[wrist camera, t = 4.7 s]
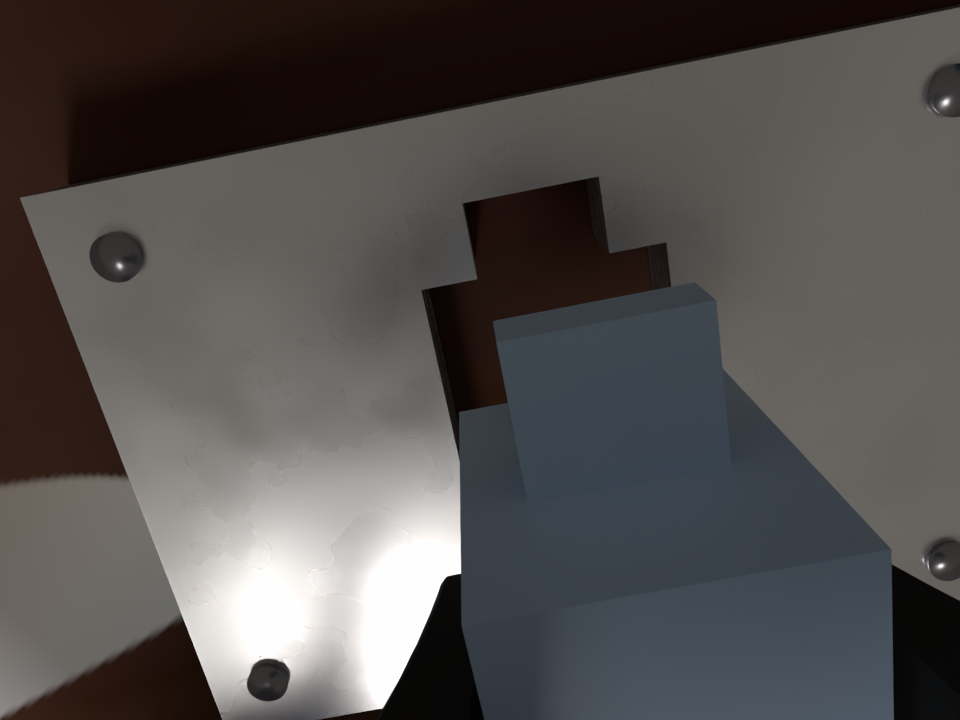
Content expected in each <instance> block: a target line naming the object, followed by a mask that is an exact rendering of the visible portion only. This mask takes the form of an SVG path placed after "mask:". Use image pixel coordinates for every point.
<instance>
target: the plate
mask: <svg viewBox="0 0 960 720" xmlns="http://www.w3.org/2000/svg"><path fill="white" fill-rule="evenodd" d="M583 179H585V181H586V188H587V195H588V202H589V209H590V216H591V223H592V230H593V236H594V237H595V238H596V239H597V240H598V241H599V242H600V244H601V245H602V246H603V247H604V248H605V249H606V250H607V251H608V252H609V253H614V252H619V251H624V250H629V249H634V248H640V247H645V246H647V251H648V260H649V268H650V276H651V284H652V290H657V289H662V288H668V287H673V286H678V285H683V284H688V283H693V282H695V283H696V284H698V285H699V286H700V287H701V288H702V289H703V290H705V291H706V292H707V293H708V294H709V295H711V296H712V297H713V298H714V299H715V300H716V302H717V313H718V324H719V334H720V345H721V356H722V367H723V369H724V370H725V371H726V372H727V373H728V374H729V376H730V377H731V378H732V379H733V380H734V381H735V382H736V383H737V384H738V385H739V386H740V387H741V388H742V390H743V391H744V392H745V393H746V394H747V395H748V396H749V397H750V398H751V399H752V400H753V401H754V402H755V403H756V405H757V406H758V407H759V408H760V409H761V410H762V411H763V412H764V413H765V414H766V415H767V416H768V417H769V418H770V420H771V421H772V422H773V423H774V424H775V425H776V426H777V427H778V428H779V429H780V430H781V431H782V432H783V434H784V435H785V436H786V437H787V438H788V439H789V440H790V441H791V442H792V443H793V444H794V445H795V446H796V447H797V449H798V450H799V451H800V452H801V453H802V454H803V455H804V456H805V457H806V458H807V459H808V460H809V461H810V463H811V464H812V465H813V466H814V467H815V468H816V469H817V470H818V471H819V472H820V473H821V474H822V475H823V476H824V478H825V479H826V480H827V481H828V482H829V483H830V484H831V485H832V486H833V487H834V488H835V489H836V490H837V492H838V493H839V494H840V495H841V496H842V497H843V498H844V499H845V500H846V501H847V502H848V503H849V504H850V505H851V507H852V508H853V509H854V510H855V511H856V512H857V513H858V514H859V515H860V516H861V517H862V518H863V519H864V520H865V522H866V523H867V524H868V525H869V526H870V527H871V528H872V529H873V530H874V531H875V532H876V533H877V534H878V536H879V537H880V538H881V539H882V540H883V541H884V542H885V543H886V544H887V545H888V546H889V547H890V548H891V559H892V564H893V565H894V566H896V567H898V568H900V569H901V570H903V571H905V572H907V573H909V574H910V575H912V576H914V577H916V578H918V579H920V580H921V581H923V582H925V583H927V584H929V585H931V586H933V587H934V588H936V589H938V590H940V591H942V592H944V593H946V594H948V595H950V596H952V597H954V598H955V599H957V600H959V601H960V4H959V5H954V6H949V7H944V8H939V9H934V10H929V11H924V12H919V13H914V14H909V15H904V16H900V17H895V18H890V19H885V20H880V21H875V22H870V23H865V24H860V25H855V26H850V27H845V28H840V29H835V30H830V31H826V32H821V33H816V34H811V35H806V36H801V37H796V38H791V39H786V40H781V41H776V42H771V43H766V44H761V45H757V46H752V47H747V48H742V49H737V50H732V51H727V52H722V53H717V54H712V55H707V56H702V57H697V58H692V59H688V60H683V61H678V62H673V63H668V64H663V65H658V66H653V67H648V68H643V69H638V70H633V71H628V72H623V73H619V74H614V75H609V76H604V77H599V78H594V79H589V80H584V81H579V82H574V83H569V84H564V85H559V86H554V87H550V88H545V89H540V90H535V91H530V92H525V93H520V94H515V95H510V96H505V97H500V98H495V99H490V100H485V101H481V102H476V103H471V104H466V105H461V106H456V107H451V108H446V109H441V110H436V111H431V112H426V113H421V114H416V115H411V116H407V117H402V118H397V119H392V120H387V121H382V122H377V123H372V124H367V125H362V126H357V127H352V128H347V129H342V130H338V131H333V132H328V133H323V134H318V135H313V136H308V137H303V138H298V139H293V140H288V141H283V142H278V143H273V144H269V145H264V146H259V147H254V148H249V149H244V150H239V151H234V152H229V153H224V154H219V155H214V156H209V157H204V158H200V159H195V160H190V161H185V162H180V163H175V164H170V165H165V166H160V167H155V168H150V169H145V170H140V171H135V172H131V173H126V174H121V175H116V176H111V177H106V178H101V179H96V180H91V181H86V182H81V183H76V184H71V185H67V186H63V187H59V188H55V189H52V190H48V191H44V192H40V193H37V194H33V195H29V196H25V197H22V198H20V199H21V202H22V204H23V207H24V210H25V212H26V215H27V217H28V220H29V222H30V225H31V228H32V230H33V233H34V235H35V238H36V240H37V243H38V246H39V248H40V251H41V253H42V256H43V259H44V261H45V264H46V266H47V269H48V271H49V274H50V277H51V279H52V282H53V284H54V287H55V289H56V292H57V295H58V297H59V300H60V302H61V305H62V307H63V310H64V313H65V315H66V318H67V320H68V323H69V326H70V328H71V331H72V333H73V336H74V338H75V341H76V344H77V346H78V349H79V351H80V354H81V356H82V359H83V362H84V364H85V367H86V369H87V372H88V374H89V377H90V380H91V382H92V385H93V387H94V390H95V393H96V395H97V398H98V400H99V403H100V405H101V408H102V411H103V413H104V416H105V418H106V421H107V423H108V426H109V429H110V431H111V434H112V436H113V439H114V441H115V444H116V447H117V449H118V452H119V454H120V457H121V460H122V462H123V465H124V467H125V470H126V472H127V475H128V478H129V480H130V483H131V485H132V488H133V490H134V493H135V496H136V498H137V501H138V503H139V506H140V508H141V511H142V513H143V516H144V519H145V521H146V524H147V526H148V529H149V532H150V534H151V537H152V539H153V542H154V545H155V547H156V550H157V552H158V555H159V557H160V560H161V562H162V565H163V568H164V570H165V573H166V575H167V578H168V581H169V583H170V586H171V588H172V591H173V593H174V596H175V599H176V601H177V604H178V606H179V609H180V611H181V614H182V617H183V619H184V622H185V624H186V627H187V630H188V632H189V635H190V637H191V640H192V642H193V645H194V648H195V650H196V653H197V655H198V658H199V660H200V663H201V666H202V668H203V671H204V673H205V676H206V679H207V681H208V684H209V686H210V689H211V691H212V694H213V697H214V699H215V702H216V704H217V707H218V709H219V712H220V715H221V717H222V720H319V719H325V718H330V717H336V716H342V715H347V714H353V713H359V712H364V711H370V710H376V709H381V708H383V707H384V705H385V703H386V702H387V700H388V698H389V696H390V695H391V693H392V691H393V689H394V688H395V686H396V684H397V682H398V680H399V678H400V676H401V674H402V672H403V670H404V668H405V666H406V664H407V662H408V660H409V658H410V656H411V654H412V652H413V650H414V648H415V646H416V644H417V642H418V640H419V637H420V635H421V633H422V631H423V628H424V626H425V624H426V622H427V619H428V617H429V614H430V612H431V610H432V607H433V605H434V602H435V599H436V597H437V594H438V591H439V588H440V585H441V583H442V582H443V581H444V579H445V578H446V577H447V576H451V575H456V574H461V532H460V445H459V422H458V418H457V413H456V409H455V404H454V400H453V395H452V390H451V386H450V381H449V377H448V372H447V368H446V363H445V359H444V354H443V350H442V345H441V341H440V336H439V331H438V327H437V322H436V318H435V313H434V309H433V304H432V300H431V295H430V291H429V288H434V287H439V286H445V285H450V284H455V283H460V282H465V281H470V280H475V279H477V272H476V263H475V256H474V251H473V246H472V241H471V236H470V231H469V226H468V221H467V216H466V211H465V206H464V203H467V202H472V201H477V200H482V199H487V198H492V197H497V196H502V195H507V194H512V193H517V192H522V191H527V190H533V189H538V188H543V187H548V186H553V185H558V184H563V183H568V182H573V181H578V180H583Z"/></svg>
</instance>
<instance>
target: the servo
mask: <svg viewBox="0 0 960 720" xmlns="http://www.w3.org/2000/svg"><path fill="white" fill-rule="evenodd" d="M493 324H494V331H495V337H496V343H497V348H498V354H499V359H500V364H501V369H502V374H503V379H504V384H505V389H506V394H507V400H508V403H505V404H499V405H494V406H489V407H484V408H478V409H473V410H468V411H462V412H459V445H460V532H461V620H462V630H463V634H464V638H465V642H466V646H467V651H468V655H469V659H470V663H471V667H472V671H473V675H474V679H475V683H476V688H477V692H478V696H479V700H480V704H481V708H482V712H483V716H484V720H894V697H893V628H892V559H891V548H890V547H889V546H888V545H887V544H886V543H885V542H884V541H883V540H882V539H881V538H880V537H879V536H878V534H877V533H876V532H875V531H874V530H873V529H872V528H871V527H870V526H869V525H868V524H867V523H866V522H865V520H864V519H863V518H862V517H861V516H860V515H859V514H858V513H857V512H856V511H855V510H854V509H853V508H852V507H851V505H850V504H849V503H848V502H847V501H846V500H845V499H844V498H843V497H842V496H841V495H840V494H839V493H838V492H837V490H836V489H835V488H834V487H833V486H832V485H831V484H830V483H829V482H828V481H827V480H826V479H825V478H824V476H823V475H822V474H821V473H820V472H819V471H818V470H817V469H816V468H815V467H814V466H813V465H812V464H811V463H810V461H809V460H808V459H807V458H806V457H805V456H804V455H803V454H802V453H801V452H800V451H799V450H798V449H797V447H796V446H795V445H794V444H793V443H792V442H791V441H790V440H789V439H788V438H787V437H786V436H785V435H784V434H783V432H782V431H781V430H780V429H779V428H778V427H777V426H776V425H775V424H774V423H773V422H772V421H771V420H770V418H769V417H768V416H767V415H766V414H765V413H764V412H763V411H762V410H761V409H760V408H759V407H758V406H757V405H756V403H755V402H754V401H753V400H752V399H751V398H750V397H749V396H748V395H747V394H746V393H745V392H744V391H743V390H742V388H741V387H740V386H739V385H738V384H737V383H736V382H735V381H734V380H733V379H732V378H731V377H730V376H729V374H728V373H727V372H726V371H725V370H724V369H723V367H722V356H721V345H720V334H719V324H718V313H717V302H716V300H715V299H714V298H713V297H712V296H711V295H709V294H708V293H707V292H706V291H705V290H703V289H702V288H701V287H700V286H699V285H698V284H696V283H695V282H693V283H688V284H683V285H678V286H673V287H668V288H662V289H657V290H652V291H647V292H642V293H636V294H631V295H626V296H621V297H616V298H610V299H605V300H600V301H595V302H590V303H585V304H579V305H574V306H569V307H564V308H559V309H553V310H548V311H543V312H538V313H533V314H527V315H522V316H517V317H512V318H507V319H502V320H496V321H493Z"/></svg>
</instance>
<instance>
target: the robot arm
mask: <svg viewBox="0 0 960 720" xmlns="http://www.w3.org/2000/svg"><path fill="white" fill-rule="evenodd" d="M892 628H893V697H894V720H960V601H959V600H957V599H955V598H954V597H952V596H950V595H948V594H946V593H944V592H942V591H940V590H938V589H936V588H934V587H933V586H931V585H929V584H927V583H925V582H923V581H921V580H920V579H918V578H916V577H914V576H912V575H910V574H909V573H907V572H905V571H903V570H901V569H900V568H898V567H896V566H894V565H893V564H892ZM376 720H484V716H483V712H482V708H481V704H480V700H479V696H478V692H477V688H476V683H475V679H474V675H473V671H472V667H471V663H470V659H469V655H468V651H467V646H466V642H465V638H464V634H463V630H462V620H461V574H456V575H451V576H447V577H446V578H445V579H444V581H443V582H442V583H441V585H440V588H439V591H438V594H437V597H436V599H435V602H434V605H433V607H432V610H431V612H430V614H429V617H428V619H427V622H426V624H425V626H424V628H423V631H422V633H421V635H420V637H419V640H418V642H417V644H416V646H415V648H414V650H413V652H412V654H411V656H410V658H409V660H408V662H407V664H406V666H405V668H404V670H403V672H402V674H401V676H400V678H399V680H398V682H397V684H396V686H395V688H394V689H393V691H392V693H391V695H390V696H389V698H388V700H387V702H386V703H385V705H384V707H383V709H382V710H381V712H380V714H379V716H378V717H377V719H376Z"/></svg>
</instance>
